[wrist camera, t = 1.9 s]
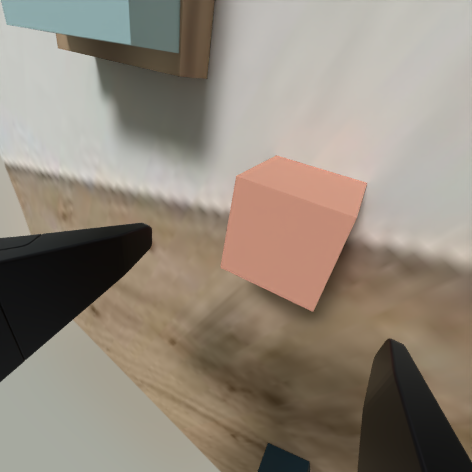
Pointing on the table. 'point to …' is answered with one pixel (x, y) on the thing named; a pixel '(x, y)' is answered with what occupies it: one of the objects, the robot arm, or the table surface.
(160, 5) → the tower top
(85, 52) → the tower base
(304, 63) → the table surface
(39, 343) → the robot arm
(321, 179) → the brick cube
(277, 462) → the watch
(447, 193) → the table surface
